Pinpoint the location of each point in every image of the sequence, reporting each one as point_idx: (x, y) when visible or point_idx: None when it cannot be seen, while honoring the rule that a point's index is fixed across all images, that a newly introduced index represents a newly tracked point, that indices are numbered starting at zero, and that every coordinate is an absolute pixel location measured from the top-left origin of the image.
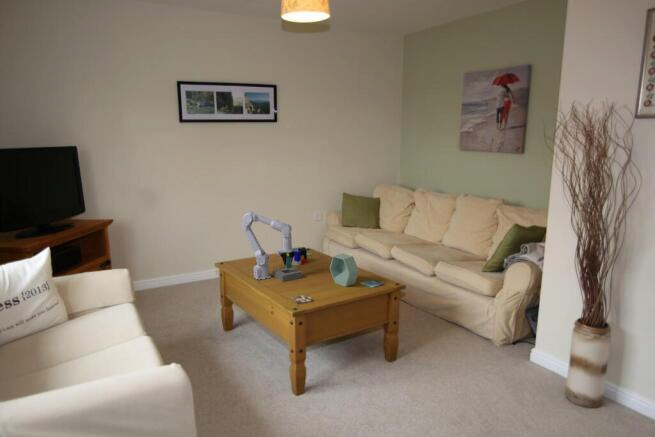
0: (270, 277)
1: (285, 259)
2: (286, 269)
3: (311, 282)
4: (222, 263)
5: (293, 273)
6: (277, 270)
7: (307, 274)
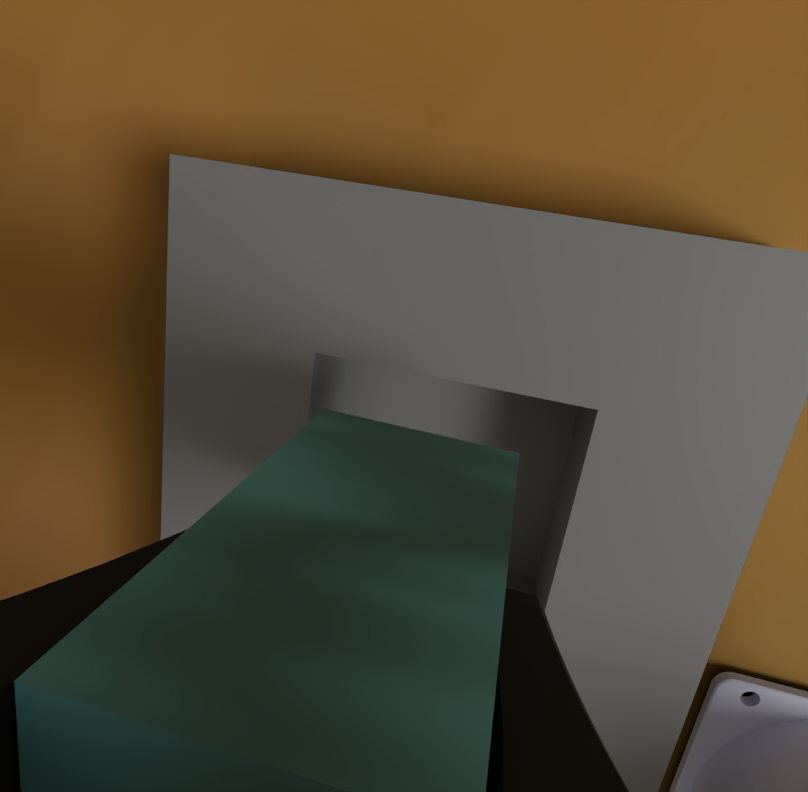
0: (747, 678)
1: (563, 790)
2: None
3: None
4: None
5: (431, 212)
6: None
7: (52, 284)
